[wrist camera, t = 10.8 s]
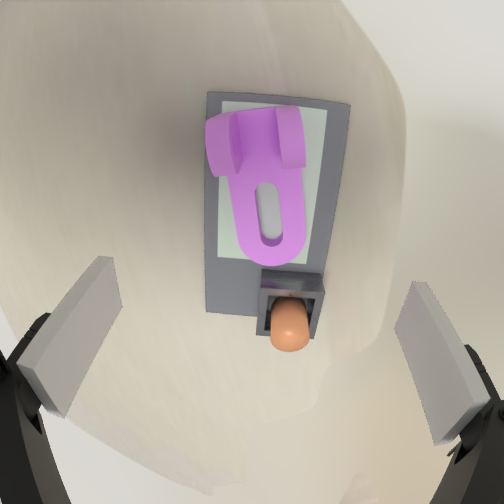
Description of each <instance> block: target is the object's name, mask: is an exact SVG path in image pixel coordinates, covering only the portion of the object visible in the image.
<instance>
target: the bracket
mask: <svg viewBox="0 0 504 504" xmlns="http://www.w3.org/2000/svg"><path fill="white" fill-rule="evenodd" d="M205 145H206V152H207V158H208V162H209V166H210V169H211V172H212V174H213V175H214V176H215V177H219V176H227V178H228V184H229V190H230V196H231V202H232V208H233V214H234V220H235V226H236V232H237V238H238V243H239V246H240V248H241V250H242V251H243V253H244V254H245V255H246V256H247V257H248V258H249V259H251V260H252V261H254V262H256V263H258V264H261V265H265V266H278V265H282V264H285V263H288V262H290V261H291V260H293V259H294V258H295V257H296V256H297V255H298V254H299V253H300V252H301V250H302V249H303V247H304V244H305V240H306V229H305V214H304V201H303V188H302V176H301V168H303V167H306V150H305V139H304V131H303V124H302V118H301V113H300V110H299V108H297V107H296V106H294V105H286V106H275V107H266V108H257V109H249V110H241V111H234V112H227V113H220V114H218V115H216V116H214V117H212V118H210V119H208V120H207V121H206V124H205ZM262 182H270V183H273V184H274V185H275V186H276V187H277V189H278V192H279V201H280V211H281V220H282V230H283V231H282V234H281V235H280V236H279V237H278V238H276V239H267V238H265V237H264V236H263V235H262V233H261V228H260V221H259V213H258V206H257V198H256V191H255V188H256V187H257V186H258V185H259V184H260V183H262Z"/></svg>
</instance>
